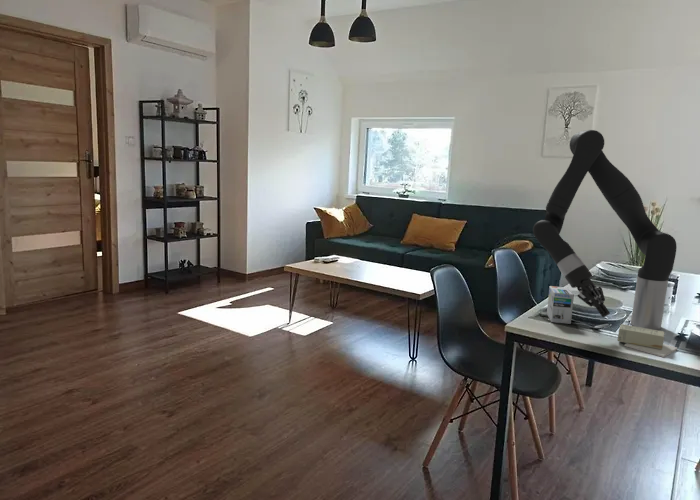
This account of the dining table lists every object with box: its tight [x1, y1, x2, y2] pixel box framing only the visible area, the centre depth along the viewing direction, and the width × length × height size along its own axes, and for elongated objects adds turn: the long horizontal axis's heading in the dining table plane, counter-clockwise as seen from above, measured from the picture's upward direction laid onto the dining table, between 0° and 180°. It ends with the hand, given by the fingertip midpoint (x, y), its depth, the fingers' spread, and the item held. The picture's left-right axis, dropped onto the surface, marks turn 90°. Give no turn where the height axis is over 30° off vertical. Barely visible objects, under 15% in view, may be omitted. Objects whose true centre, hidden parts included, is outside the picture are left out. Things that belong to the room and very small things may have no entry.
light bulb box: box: [546, 285, 575, 325], centre depth 185 cm, size 11×7×11 cm, turn 168°
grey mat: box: [624, 343, 678, 358], centre depth 160 cm, size 11×11×1 cm
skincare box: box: [617, 323, 666, 350], centre depth 162 cm, size 6×4×12 cm
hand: (606, 315), depth 166 cm, fingers closed
